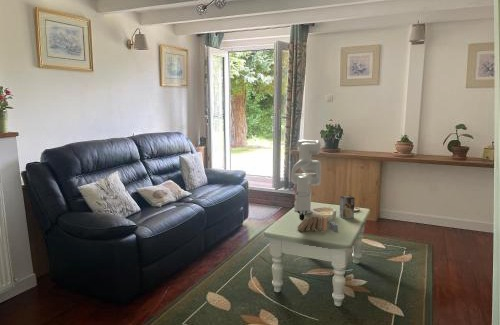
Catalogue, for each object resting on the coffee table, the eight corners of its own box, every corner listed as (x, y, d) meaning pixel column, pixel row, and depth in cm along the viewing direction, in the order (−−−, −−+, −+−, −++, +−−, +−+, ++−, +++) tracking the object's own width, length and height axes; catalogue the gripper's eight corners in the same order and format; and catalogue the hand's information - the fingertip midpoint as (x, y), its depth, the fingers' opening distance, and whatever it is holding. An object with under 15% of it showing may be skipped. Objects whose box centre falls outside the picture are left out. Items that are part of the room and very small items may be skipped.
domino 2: (302, 227, 249) (309, 216, 248) (305, 228, 249) (311, 217, 249) (305, 230, 244) (311, 219, 243) (307, 231, 244) (314, 220, 243)
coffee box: (350, 215, 280) (351, 195, 277) (353, 218, 274) (355, 197, 271) (339, 216, 278) (340, 196, 275) (342, 218, 272) (343, 198, 269)
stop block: (329, 227, 253) (329, 221, 252) (333, 226, 254) (333, 221, 253) (333, 231, 245) (333, 225, 245) (337, 230, 246) (337, 225, 245)
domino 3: (308, 228, 250) (312, 215, 248) (311, 228, 250) (314, 216, 249) (311, 230, 244) (314, 218, 243) (313, 231, 245) (317, 218, 243)
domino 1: (297, 227, 248) (305, 217, 248) (299, 229, 249) (307, 219, 248) (299, 230, 243) (307, 220, 243) (301, 231, 243) (310, 221, 243)
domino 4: (314, 228, 250) (315, 216, 249) (317, 228, 251) (318, 215, 249) (317, 231, 245) (317, 218, 243) (320, 231, 245) (320, 218, 244)
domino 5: (320, 228, 251) (321, 215, 250) (323, 227, 251) (324, 215, 250) (323, 230, 246) (324, 218, 244) (326, 230, 246) (327, 218, 245)
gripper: (293, 195, 237) (292, 222, 240) (314, 195, 239) (313, 221, 242) (290, 192, 244) (289, 218, 247) (311, 192, 247) (310, 217, 250)
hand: (301, 219), depth 245 cm, fingers closed
